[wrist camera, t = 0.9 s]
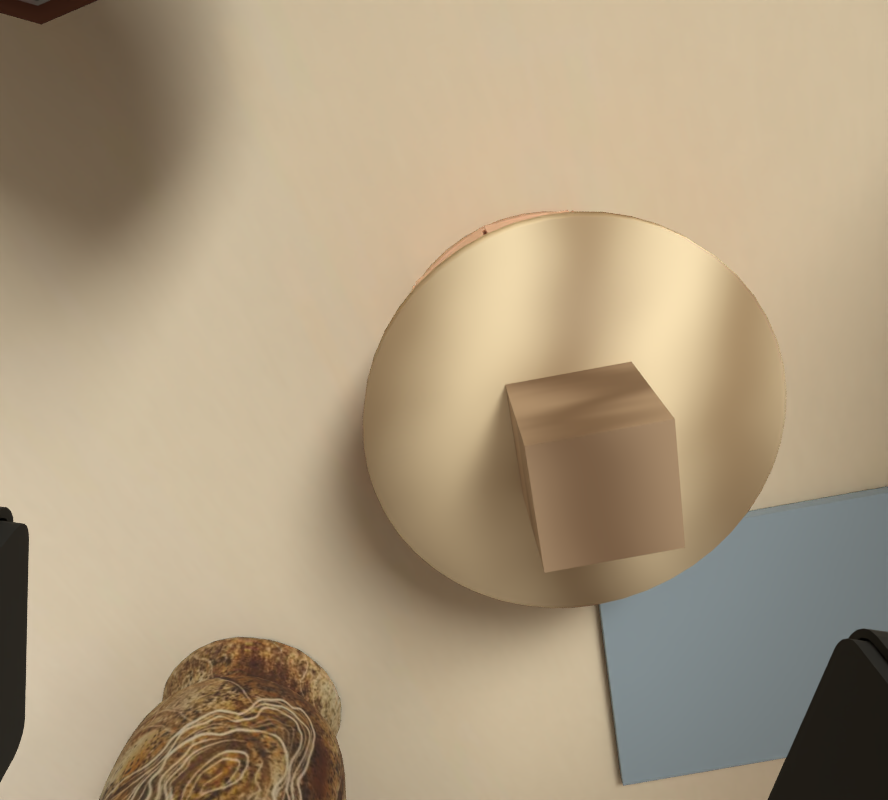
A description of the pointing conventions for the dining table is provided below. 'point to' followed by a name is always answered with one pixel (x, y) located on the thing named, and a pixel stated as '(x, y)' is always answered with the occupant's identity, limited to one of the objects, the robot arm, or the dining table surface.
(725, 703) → the mat
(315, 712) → the vase
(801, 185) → the dining table surface
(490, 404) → the lid
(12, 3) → the ice cream bowl
